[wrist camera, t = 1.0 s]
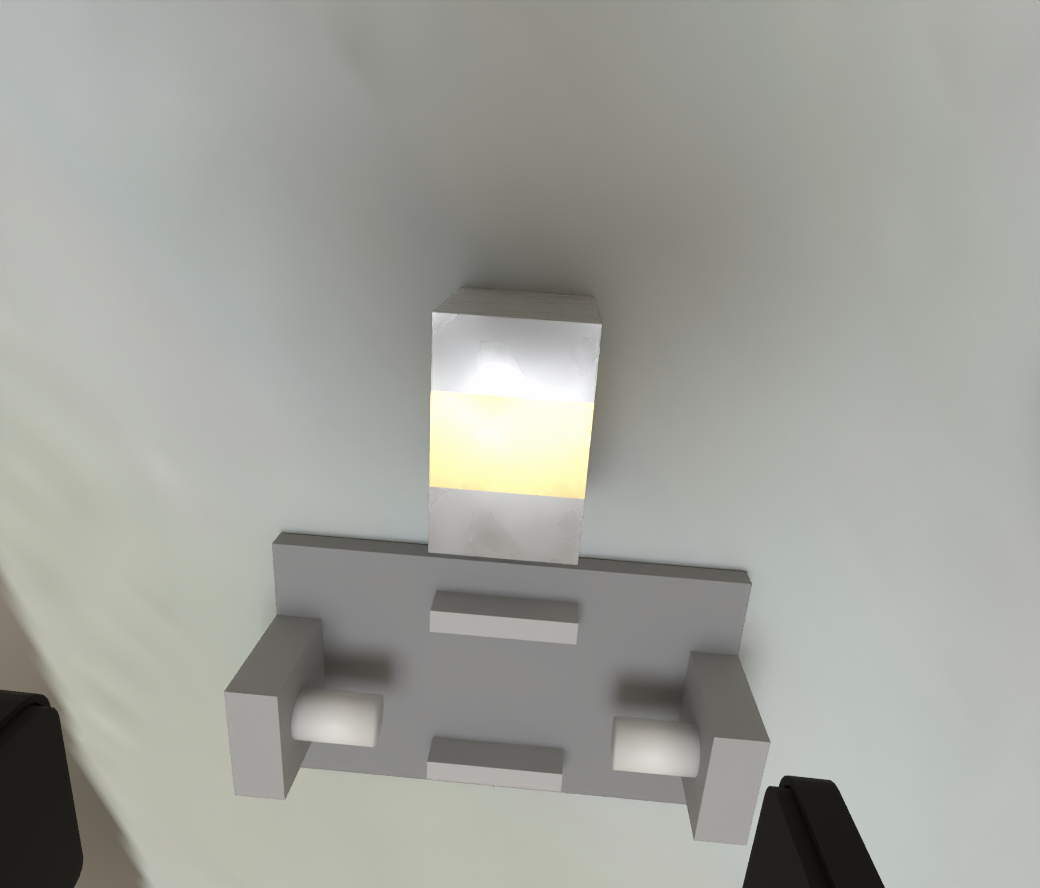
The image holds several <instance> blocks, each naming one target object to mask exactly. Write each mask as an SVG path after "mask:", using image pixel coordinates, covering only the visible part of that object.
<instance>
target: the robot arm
mask: <svg viewBox="0 0 1040 888" xmlns="http://www.w3.org/2000/svg"><path fill="white" fill-rule="evenodd" d="M82 865H83V854H82V847H81V841H80V836H79V830H78V824H77V818H76V812H75V807H74V801H73V795H72V789H71V783H70V777H69V772H68V765H67V760H66V754H65V748H64V742H63V736H62V730H61V724H60V718H59V714H58V712H57V710H56V709H55V708H52V707H51V706H50V703H49V701H48V699H47V698H46V697H45V696H44V695H41V694H34V693H25V692H16V691H7V690H0V888H74V886H75V884H76V883H77V880H78V878H79V876H80V873H81V870H82ZM743 888H885V887H884V885H883V883H882V881H881V879H880V877H879V874H878V872H877V870H876V868H875V866H874V864H873V862H872V860H871V857H870V855H869V853H868V851H867V849H866V847H865V845H864V843H863V840H862V838H861V836H860V834H859V832H858V830H857V828H856V826H855V823H854V821H853V819H852V817H851V815H850V813H849V811H848V809H847V806H846V804H845V802H844V800H843V798H842V796H841V794H840V791H839V790H838V788H837V786H836V785H835V783H833V782H832V781H831V780H824V779H814V778H805V777H796V776H784V777H783V778H782V779H781V782H780V784H779V787H774V786H769V787H768V788H767V789H766V792H765V796H764V800H763V804H762V808H761V812H760V817H759V821H758V825H757V829H756V833H755V838H754V842H753V846H752V850H751V854H750V859H749V863H748V867H747V871H746V875H745V880H744V884H743Z"/></svg>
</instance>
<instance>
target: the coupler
mask: <svg viewBox="0 0 1040 888" xmlns="http://www.w3.org/2000/svg"><path fill="white" fill-rule="evenodd" d="M601 330H602V322H601V319H600V315H599V312H598V309H597V305H596V302H595V299H594V296H581V295H566V294H552V293H538V292H523V291H509V290H495V289H480V288H466V287H461V288H459V289H458V290H457V291H456V292H455V293H454V294H453V295H451V296H450V297H449V298H448V299H447V300H446V301H445V302H443V303H442V304H441V305H440V306H439V307H438V308H437V309H435V310H434V311H433V312H432V360H431V418H430V477H429V535H428V552H429V553H441V554H453V555H465V556H476V557H488V558H500V559H512V560H524V561H536V562H548V563H560V564H572V565H578V558H579V548H580V538H581V528H582V518H583V508H584V498H585V488H586V479H587V469H588V459H589V449H590V439H591V429H592V419H593V409H594V400H595V390H596V380H597V370H598V360H599V350H600V340H601Z"/></svg>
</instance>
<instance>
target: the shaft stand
mask: <svg viewBox="0 0 1040 888" xmlns="http://www.w3.org/2000/svg"><path fill="white" fill-rule="evenodd" d="M272 549H273V564H274V578H275V592H276V607H277V616H276V617H275V618H274V620H273V621H272V623H271V624H270V626H269V627H268V629H267V630H266V632H265V633H264V634H263V636H262V637H261V639H260V640H259V642H258V643H257V645H256V646H255V648H254V649H253V650H252V652H251V653H250V655H249V656H248V658H247V659H246V661H245V662H244V664H243V665H242V666H241V668H240V669H239V671H238V672H237V674H236V675H235V677H234V678H233V680H232V681H231V682H230V684H229V685H228V687H227V688H226V690H225V691H224V696H225V706H226V715H227V725H228V735H229V744H230V754H231V763H232V773H233V782H234V792H235V795H237V796H247V797H257V798H267V799H277V800H285V799H286V797H287V794H288V792H289V790H290V788H291V786H292V784H293V781H294V779H295V777H296V775H297V773H298V771H299V769H300V767H302V768H312V769H323V770H333V771H344V772H354V773H364V774H375V775H385V776H395V777H406V778H416V779H427V780H437V781H447V782H458V783H468V784H479V785H489V786H499V787H510V788H520V789H531V790H541V791H551V792H562V793H572V794H583V795H593V796H603V797H614V798H624V799H635V800H645V801H655V802H666V803H676V804H686V805H687V808H688V813H689V818H690V823H691V828H692V833H693V838H694V840H695V841H706V842H716V843H726V844H736V845H747V841H748V837H749V832H750V828H751V824H752V820H753V815H754V811H755V807H756V802H757V798H758V794H759V789H760V785H761V781H762V777H763V772H764V768H765V764H766V759H767V755H768V751H769V746H770V740H769V737H768V735H767V732H766V729H765V727H764V724H763V721H762V719H761V716H760V713H759V711H758V708H757V705H756V703H755V700H754V697H753V695H752V692H751V690H750V687H749V684H748V682H747V679H746V676H745V674H744V671H743V668H742V666H741V663H740V660H739V658H738V651H739V646H740V641H741V636H742V631H743V626H744V621H745V616H746V611H747V606H748V601H749V596H750V591H751V586H752V583H751V581H750V579H749V577H748V575H747V573H746V572H744V571H732V570H720V569H708V568H696V567H685V566H673V565H661V564H649V563H637V562H625V561H613V560H601V559H589V558H578V565H572V564H560V563H548V562H536V561H524V560H512V559H500V558H488V557H476V556H465V555H453V554H441V553H429V552H428V545H421V544H409V543H398V542H386V541H374V540H362V539H350V538H338V537H326V536H314V535H302V534H290V533H281V534H280V535H279V536H278V537H277V538H276V540H275V541H274V542H273V543H272Z"/></svg>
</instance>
